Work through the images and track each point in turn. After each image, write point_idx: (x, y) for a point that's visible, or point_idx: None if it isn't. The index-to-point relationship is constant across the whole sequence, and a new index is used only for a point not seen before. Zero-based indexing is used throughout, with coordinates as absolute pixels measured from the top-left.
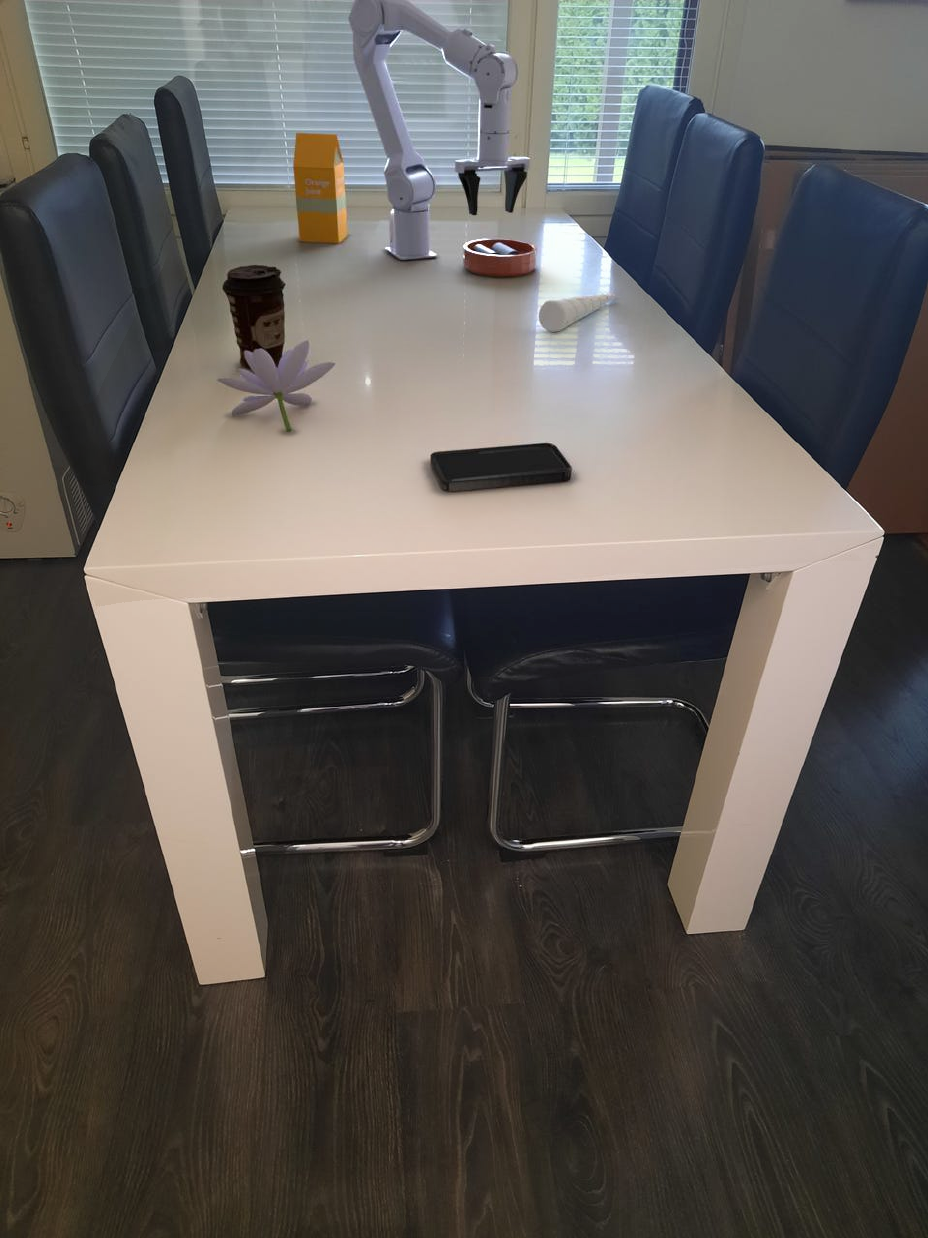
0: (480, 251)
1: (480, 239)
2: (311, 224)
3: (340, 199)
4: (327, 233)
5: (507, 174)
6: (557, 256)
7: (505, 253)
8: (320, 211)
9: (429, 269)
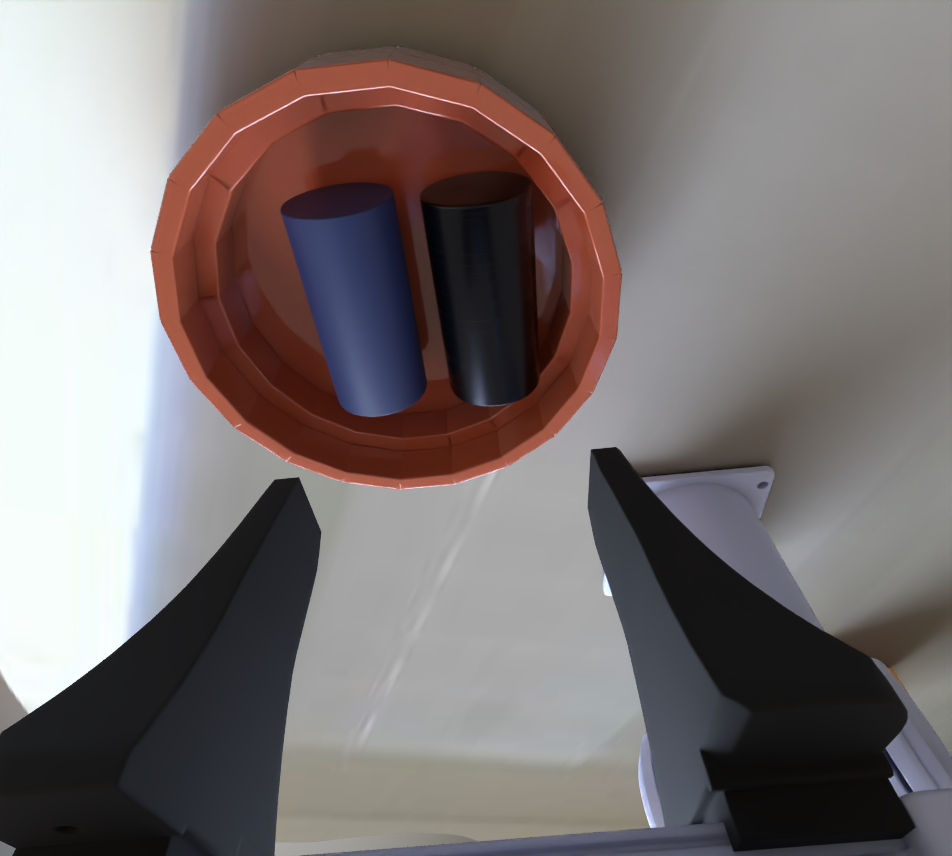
0: (525, 308)
1: (454, 481)
2: None
3: None
4: None
5: (249, 813)
6: (62, 416)
7: (383, 240)
8: None
9: (740, 331)
